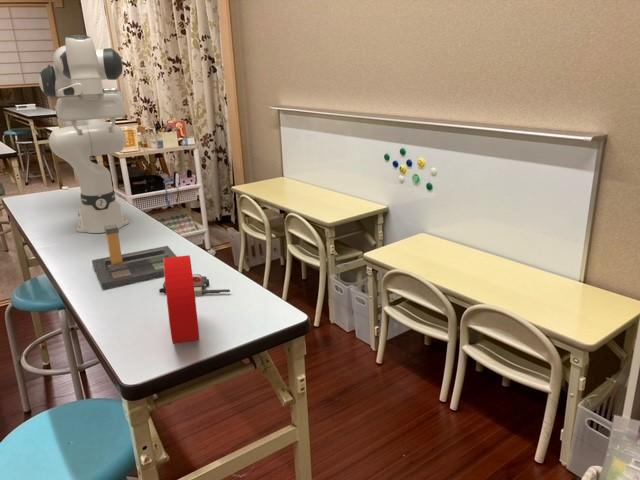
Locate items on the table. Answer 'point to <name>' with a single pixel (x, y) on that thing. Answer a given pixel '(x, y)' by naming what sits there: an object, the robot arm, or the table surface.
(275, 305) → the table surface
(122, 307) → the table surface
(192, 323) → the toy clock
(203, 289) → the walkie-talkie
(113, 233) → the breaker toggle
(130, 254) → the grey metal board
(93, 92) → the robot arm
